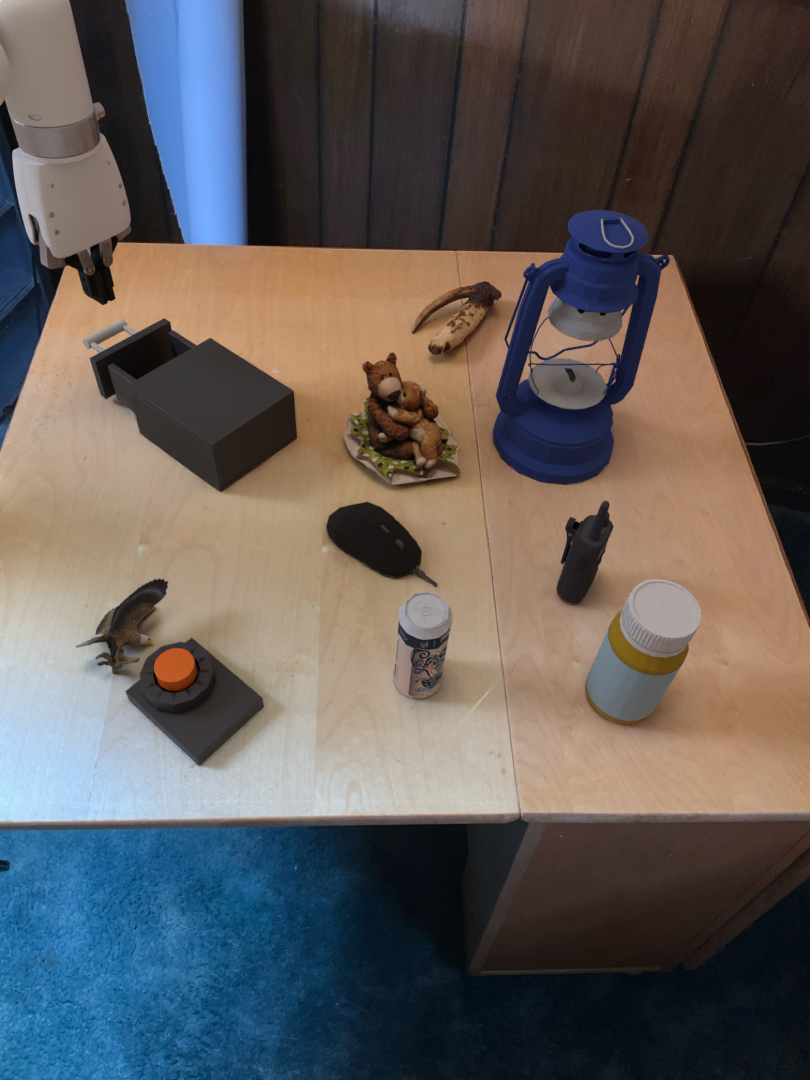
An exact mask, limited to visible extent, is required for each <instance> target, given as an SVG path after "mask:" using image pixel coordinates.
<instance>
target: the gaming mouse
mask: <svg viewBox="0 0 810 1080" xmlns="http://www.w3.org/2000/svg"><path fill="white" fill-rule="evenodd" d="M326 533H327V536H328V537H329V539H331V541H332V542H333V543H334V544H335V545H336V547H338V548H339V549H340V550H342V551H343V552H345V553H346V554H348V555H350V556H351V557H353V558H355V559H357V560H358V561H360V562H361V563H363V564H365V565H366V566H367V567H369V568H370V569H372V570H374V571H376V572H378V573H380V574H381V575H383V576H386V577H387V576H389V577H393V578H397V579H398V578H400V577H403V576H406V575H409V574H411V573H413V572H414V573H415V574H417V575H418V576H419V577H420V578H422V579H423V578H424V579H425V580H426V581H427V582H429V583H430V584H432V586H434V587H435V588H436V587H438V585H439V583H438V582H437V581H435V580H434V579H432V578H431V577H429V576H428V575H427V573H426V572H425V571H423V570H422V569H420V568H419V566H420V565H421V560H422V553H423V552H422V551H423V550H422V548H421V547H420V546H419V544H418V542H417V540H416V539H415V538H414V537H413V535H411V534H410V531H408V530H407V528H406V527H404V525H403V524H402V523H401V522H400V521H399V520H398V519H396V517H395V516H393V514H391V513H390V512H389V511H387V510H386V509H384V508H383V507H381V506H380V505H377V504H374V503H372V502H370V501H364V502H358V503H353V504H349V505H344V506H341V507H338V508H337V509H336V510H334V511H333V512H332V513H331V514H330V515H328V519H327V522H326Z"/></svg>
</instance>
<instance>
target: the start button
mask: <svg viewBox="0 0 810 1080" xmlns="http://www.w3.org/2000/svg"><path fill="white" fill-rule="evenodd" d="M154 671H155V674H156V677H157V680H158V682H159V684H160V685H161V686H162V687H163V688H164V689H166V690H169V691H180V690H183V689H185V688H187V687H189V686H190V685H191V684H192V683H193V682H194V680H195V678H196V676H197V668H196V664H195V661H194V657H193V656H192V654H191V653H190V652H189V651H187V650H185V649H181V648H173V649H169V650H167V651H165V652H163V653H162V654H161V655H160V656H159V657H158V658H157V659H156V661H155V664H154Z"/></svg>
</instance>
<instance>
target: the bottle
mask: <svg viewBox="0 0 810 1080" xmlns="http://www.w3.org/2000/svg"><path fill="white" fill-rule="evenodd" d="M701 622H702V610H701V607H700V605H699V602H698V601H697V599H696V597H695V596H694V595H693V594H692V593H691V592H690V591H689V590H688V589H687V588H686V587H684V586H682V585H681V584H679V583H676V582H674V581H671V580H668V579H662V578H652V579H646V580H643V581H641V582H639V583H638V584H637V585H636V586H634V587H633V588H632V590H631V591H630V593H629V594H628V597H627V599H626V601H625V603H624V606H623V608H622V609H621V610H619V612H618V613H616V614H615V615H614V617H613V619H612V620H611V622H610V624H609V627H608V629H607V631H606V633H605V635H604V637H603V640H602V641H601V644H600V646H599V649H598V651H597V653H596V655H595V657H594V659H593V661H592V664H591V666H590V668H589V670H588V673H587V676H586V678H585V692H586V697H587V699H588V702H590V704H591V705H592V707H593V708H594V710H595V711H597V712H598V713H599V714H600V715H601V716H602V717H604V718H606V719H609V720H610V721H612V722H615V723H620V724H625V725H627V724H637V723H640V722H642V721H644V720H646V719H647V718H648V717H650V715H651V714H652V713H653V712H654V711H655V710H656V708H657V706H658V704H659V703H660V701H661V700H662V699H663V696H664V695H665V693H666V692H667V691H668V689H669V687H670V686H671V684H672V682H673V681H674V679H675V677H676V675H677V674H678V672H679V671H680V670H681V667H682V666H683V664H684V663H685V660H686V659H687V656H688V653H689V652H690V651H689V650H690V648H689V646H690V642H692V639H693V638H694V636H695V634H696V633H697V631H698V630H699V628H700V625H701Z"/></svg>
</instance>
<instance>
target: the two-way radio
mask: <svg viewBox="0 0 810 1080" xmlns="http://www.w3.org/2000/svg"><path fill="white" fill-rule="evenodd" d="M610 505H611V504H610V501H608V500H603V501H602V502H601V504H600V506H599V508H598V511H597V513H596V514H589V515H587V516H586V517H584V519H583V520H581V521H577V518H575V517H574V516H570V517H569V518H568V520H567V521H566V524H565V526H564V530H565V534H566V543H565V545H564V549H563V553H562V556H561V560H560V563H561V565H562V569H561V572H560V575H559V578H558V580H557V584H556V593H557V595H558V596H559V597H560V598H561V600H562V601H564V602H566V603H568V604H572V605H577V604H580V603H582V602H583V600H584V599H585V597H586V596H587V594H588V592H589V591H590V589H591V587H592V586H593V583H594V580H595V578H596V577H597V573H598V571H599V566H600V565H601V563H602V560H603V556H604V554H605V552H606V549H607V545H608V541H609V539H610V537H611V535H612V533H613V530H614V524H613V522H612V520H611V519H610V516H611V515H610V512H609V509H610Z"/></svg>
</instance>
